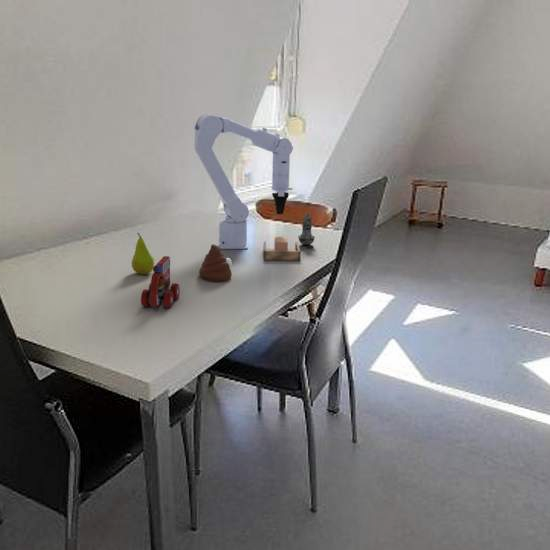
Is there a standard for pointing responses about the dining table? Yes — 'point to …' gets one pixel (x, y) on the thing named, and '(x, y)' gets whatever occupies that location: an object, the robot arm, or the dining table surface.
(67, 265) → the dining table surface
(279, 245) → the tall block
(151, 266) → the fruit
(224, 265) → the poop emoji
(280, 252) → the walnut tray
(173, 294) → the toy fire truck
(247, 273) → the dining table surface
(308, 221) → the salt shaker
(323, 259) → the dining table surface
